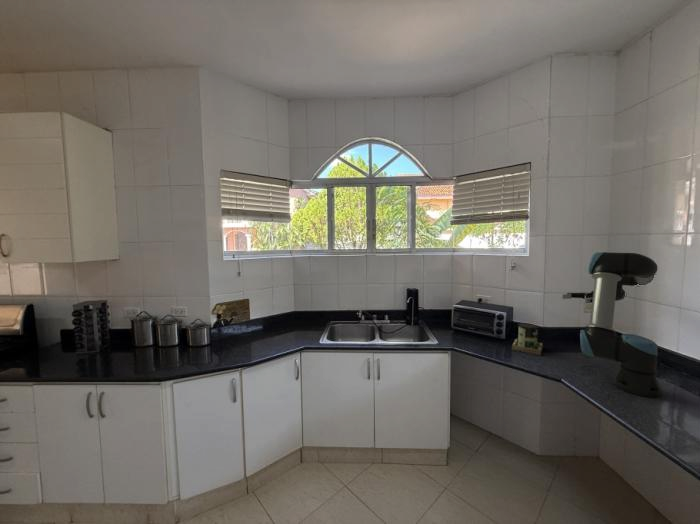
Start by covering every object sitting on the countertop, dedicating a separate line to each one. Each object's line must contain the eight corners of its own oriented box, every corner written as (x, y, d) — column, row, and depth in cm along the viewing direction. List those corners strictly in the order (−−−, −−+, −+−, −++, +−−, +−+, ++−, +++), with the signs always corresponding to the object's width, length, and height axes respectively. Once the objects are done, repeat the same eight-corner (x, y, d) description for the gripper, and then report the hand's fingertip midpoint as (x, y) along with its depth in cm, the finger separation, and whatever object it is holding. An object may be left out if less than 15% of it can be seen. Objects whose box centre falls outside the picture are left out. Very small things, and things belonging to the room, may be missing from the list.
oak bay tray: (540, 355, 172) (540, 350, 171) (512, 350, 180) (512, 345, 180) (542, 347, 183) (542, 343, 183) (515, 343, 192) (515, 338, 192)
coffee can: (539, 348, 181) (540, 325, 180) (533, 352, 175) (534, 328, 173) (521, 343, 189) (522, 321, 188) (514, 347, 182) (515, 325, 181)
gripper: (624, 306, 167) (595, 309, 162) (580, 298, 191) (553, 301, 186) (625, 293, 167) (595, 296, 161) (580, 286, 191) (553, 289, 186)
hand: (573, 298), depth 174 cm, fingers open, 13 cm apart
